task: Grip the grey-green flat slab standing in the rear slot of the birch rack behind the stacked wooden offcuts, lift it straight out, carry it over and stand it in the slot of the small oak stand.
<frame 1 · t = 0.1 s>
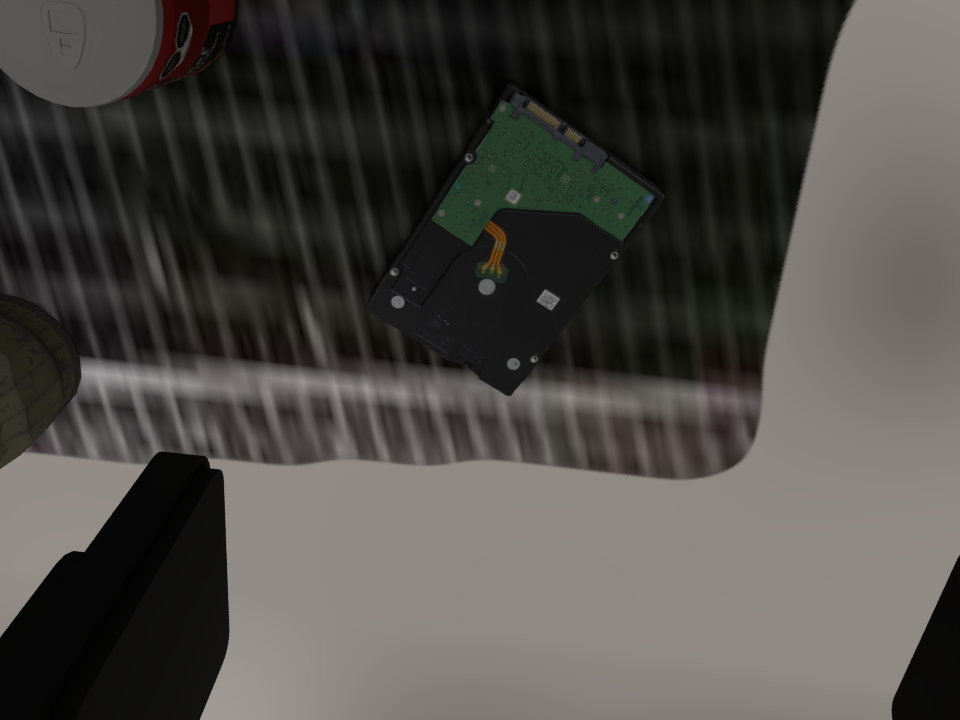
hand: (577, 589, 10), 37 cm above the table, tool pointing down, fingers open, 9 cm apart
disk drive: (509, 239, 47), on the table
thermos: (12, 355, 51), on the table
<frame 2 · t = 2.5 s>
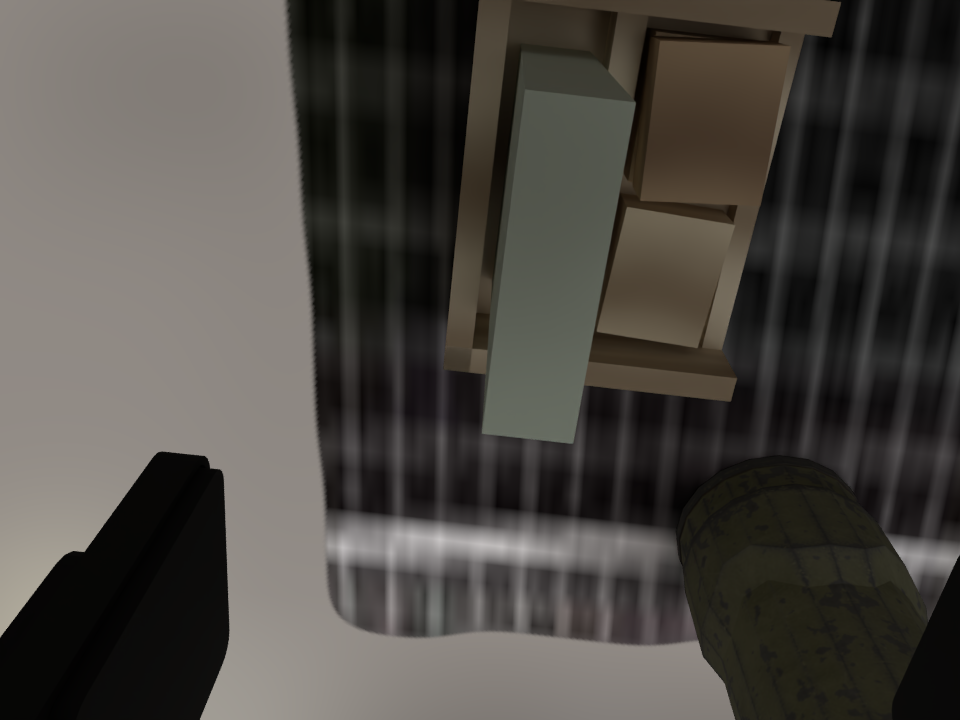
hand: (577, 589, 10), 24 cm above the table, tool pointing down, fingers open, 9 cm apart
offcut a: (688, 107, 30), point 1 cm above the table, touching offcut b, rack
offcut b: (699, 116, 28), point 3 cm above the table, touching offcut a
grey-green flat slab: (538, 172, 31), point 1 cm above the table, touching rack
thermos: (764, 528, 39), on the table
rack: (607, 175, 32), on the table
offcut c: (655, 262, 32), point 1 cm above the table, touching rack
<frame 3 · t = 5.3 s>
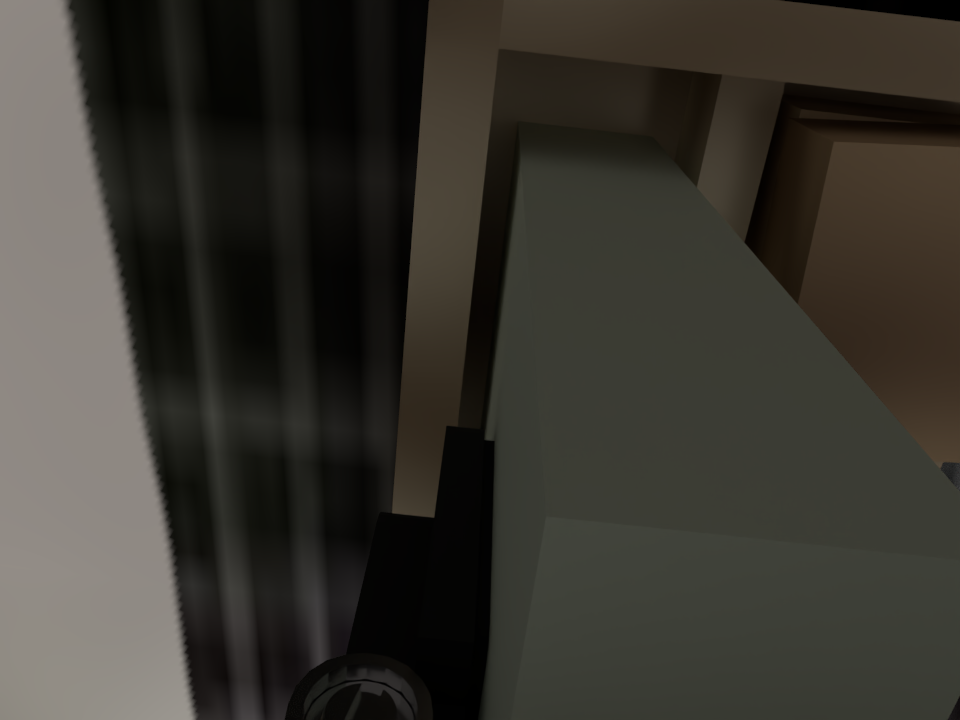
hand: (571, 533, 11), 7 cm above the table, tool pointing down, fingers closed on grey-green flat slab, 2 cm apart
offcut a: (833, 237, 16), point 1 cm above the table, touching offcut b, rack
offcut b: (875, 272, 14), point 3 cm above the table, touching offcut a
grey-green flat slab: (550, 348, 17), point 1 cm above the table, touching gripper, rack
rack: (672, 343, 18), on the table
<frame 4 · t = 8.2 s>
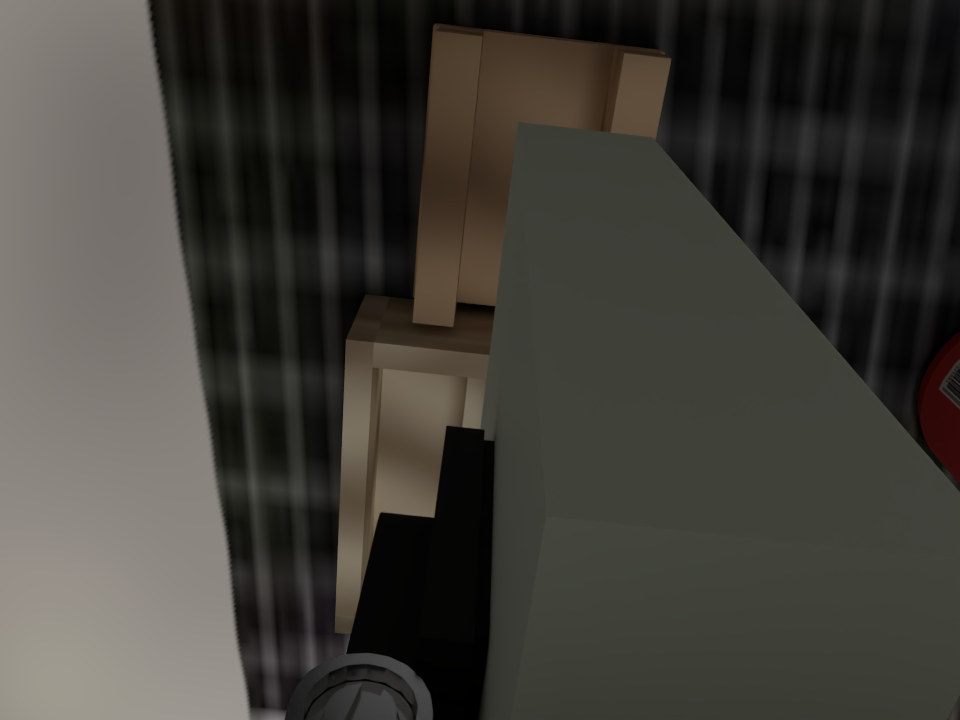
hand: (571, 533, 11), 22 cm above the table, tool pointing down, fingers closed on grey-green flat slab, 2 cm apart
grey-green flat slab: (550, 349, 17), point 15 cm above the table, touching gripper
rack: (481, 453, 36), on the table
stand: (529, 176, 31), on the table
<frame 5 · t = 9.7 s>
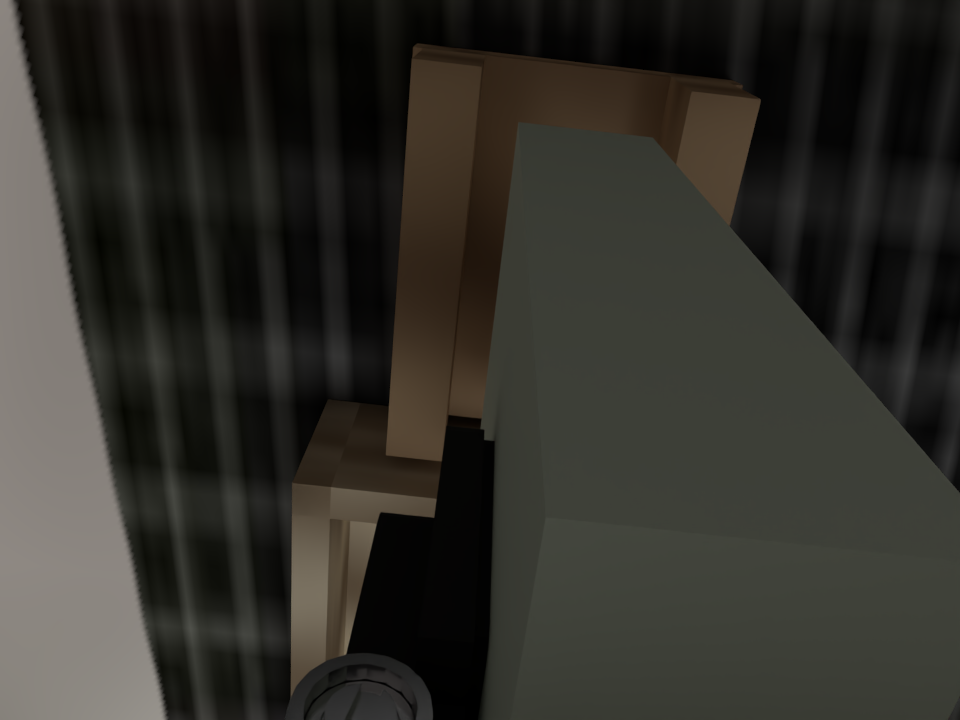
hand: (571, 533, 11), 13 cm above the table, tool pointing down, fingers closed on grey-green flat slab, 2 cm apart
grey-green flat slab: (550, 349, 17), point 6 cm above the table, touching gripper
rack: (481, 593, 28), on the table
stand: (547, 251, 23), on the table
when the fingers open (8 cm above the table, at t = 11.2 s): grey-green flat slab stays where it is, resting on stand.
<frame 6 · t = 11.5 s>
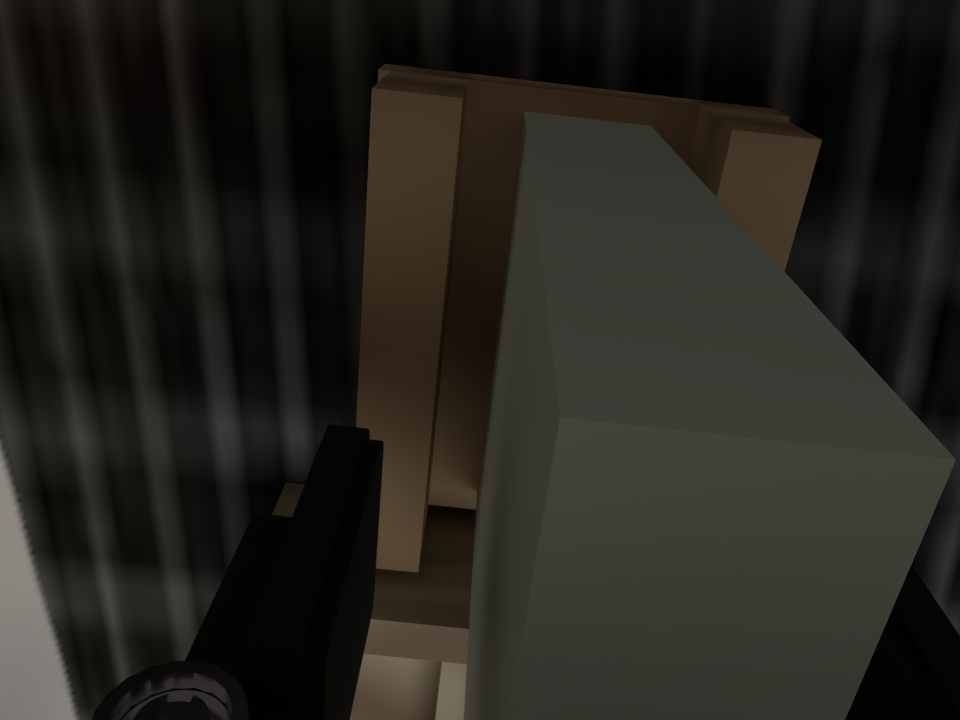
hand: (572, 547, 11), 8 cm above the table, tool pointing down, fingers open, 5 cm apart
grey-green flat slab: (554, 328, 18), point 1 cm above the table, touching stand
rack: (470, 696, 24), on the table
stand: (546, 312, 19), on the table
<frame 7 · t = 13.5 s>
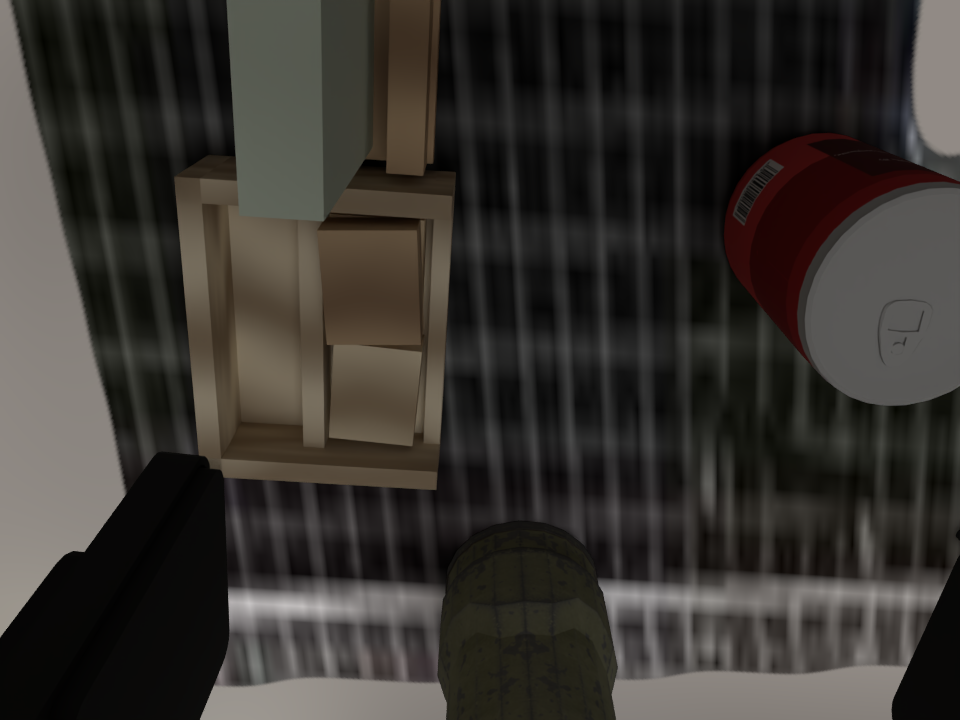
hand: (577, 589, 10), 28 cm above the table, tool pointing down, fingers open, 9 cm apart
offcut a: (381, 259, 37), point 1 cm above the table, touching offcut b, rack
offcut b: (376, 273, 35), point 3 cm above the table, touching offcut a
canned food: (800, 216, 38), on the table
grey-green flat slab: (343, 32, 33), point 1 cm above the table, touching stand
thermos: (520, 580, 46), on the table
rack: (333, 309, 39), on the table
stand: (343, 32, 34), on the table
offcut c: (379, 376, 40), point 1 cm above the table, touching rack
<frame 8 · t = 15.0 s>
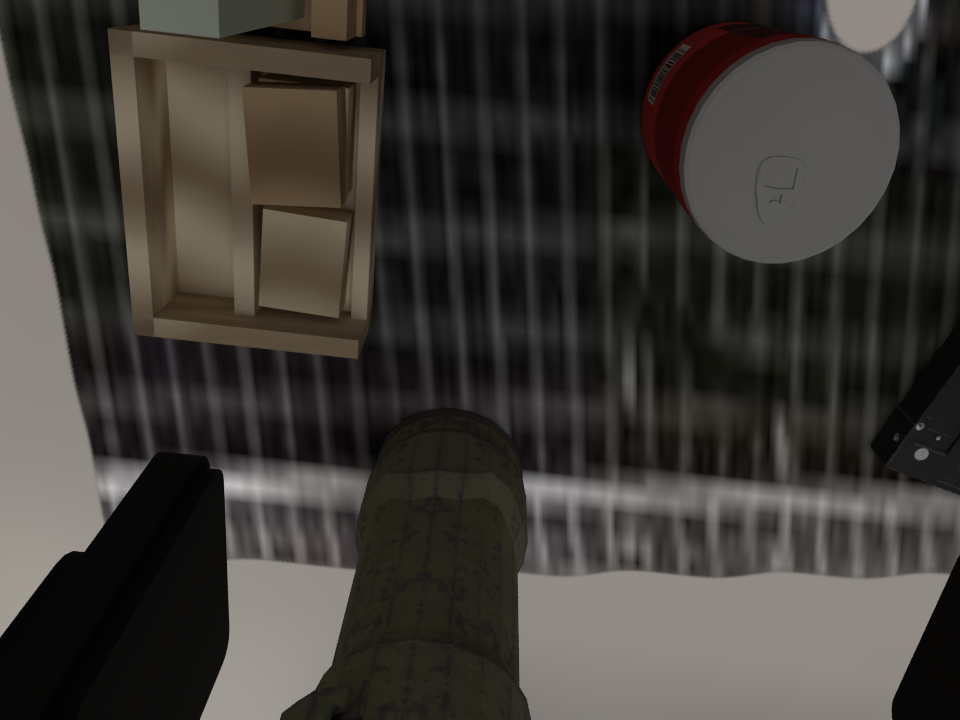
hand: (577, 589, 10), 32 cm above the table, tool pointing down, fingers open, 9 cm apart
offcut a: (312, 132, 39), point 1 cm above the table, touching offcut b, rack
offcut b: (303, 140, 37), point 3 cm above the table, touching offcut a
canned food: (717, 109, 39), on the table
thermos: (448, 469, 48), on the table
rack: (269, 184, 41), on the table
offcut c: (310, 252, 41), point 1 cm above the table, touching rack
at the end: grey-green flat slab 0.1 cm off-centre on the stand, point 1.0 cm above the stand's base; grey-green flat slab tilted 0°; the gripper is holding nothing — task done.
